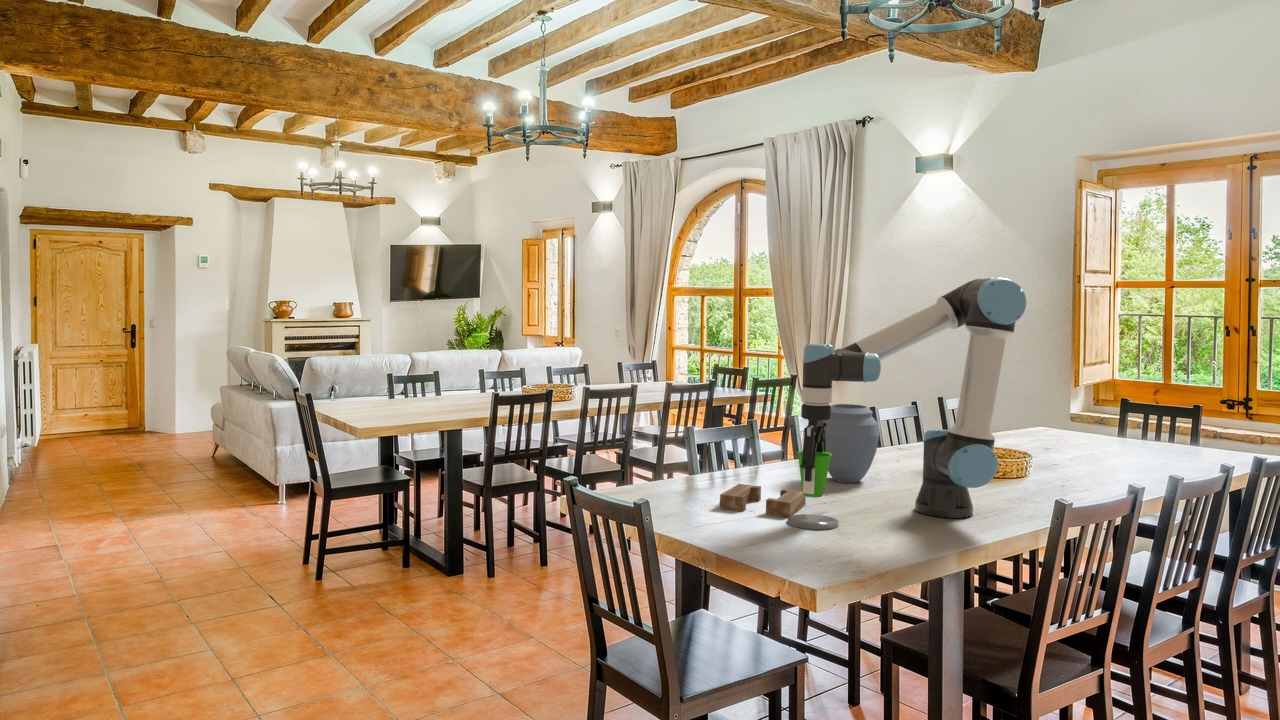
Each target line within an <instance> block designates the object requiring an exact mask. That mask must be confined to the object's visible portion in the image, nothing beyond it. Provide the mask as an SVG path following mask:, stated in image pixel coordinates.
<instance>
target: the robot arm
mask: <svg viewBox="0 0 1280 720" xmlns="http://www.w3.org/2000/svg"><path fill="white" fill-rule="evenodd" d="M1026 308H1027V297H1026V294H1025V291H1024V289H1023V288H1022V286H1020V285H1019V284H1018V282H1016V281H1014V280H1012V279H1009V278H1004V277H1001V276H1000V277H999V276H998V277H996V276H993V277H990V278H976V279H972V280H970V281H967V282H965V283H964V284H962V285H959V287H956V288H954V289H953V290H951V291H949V292H947V293H945V294H944V295H943V294H942V296H940V297H937V299H936V302H935V303H934V304H931V305H929V306H927V307H925V308H923V309H921V310H919V311H916V312H914V313H913V314H911V315H909V316H907V317H905V318H903V319H901V320H899V321H897V322H894V323H893V324H890V325H888V326H886V327H884V328H882V329H880V330H877V331H876V332H874V333H871V334H870V335H867V336H865V337H863V338H861V339H860V340H857V341H856V342H853V343H851V344H849V345H846V346H845V347H843V348H837V349H834V346H833V345H832V344H829V343H824V344H823V343H808V344H806V345H805V346H804V348H803V358H802V359H803V360H802V389H800V391H799V393H800V394H801V402H802V404H801V412H800V413H801V414H800V417H801V418H802V419H804V420H808V424H807V426H806V427H804V428H803V443H802V444H803V445H802V451H803V454H802V463H801V465H800V467H801V468H804V476H803V493H806V494H814V482H815V468H814V462H815V456H816V452H826V426H827V424H826V423H825V422H823V420H829V419H830V418H831V406H832V405H831V403H832V401H833V382H859V383H861V382H862V383H867V382H869V383H871V382H873V383H875V382H877V380H879V378H880V376H881V371H882V370H881V369H882V368H881V367H882V365H881V361H883V360H886V359H887V358H889V357H891V356H893V355H896V354H897V353H900V352H901V351H904V350H905V349H908V348H911V347H912V346H914V345H916V344H918V343H921V342H922V341H925V340H926V339H929V338H930V337H933V336H935V335H937V334H939V333H941V332H943V331H945V330H948V329H952V330H955V329H958V328H960V327H963V326H965V328H966V330H967V331H968V332H969V335H970V336H969V341H968V346H967V352H966V358H965V364H964V370H963V377H962V382H961V387H960V394H959V399H958V405H957V411H956V417H955V424H954V425H952V426H951V427H950V428H948V429H927V430H926V431H925V433H924V438H923V458H922V459H923V462H922V463H923V464H922V465H923V466H922V467H923V468H922V484H921V486H920V488H919V491H918V494H917V496H916V499H915V503H914V505H915V506H914V510H915V511H916V512H917V511H918V513H919V512H920V514H922V513H923V515H925V514H927V515H926V516H930V515H931V516H930V517H935V516H938V517H937V518H943V517H948V518H947V519H964V518H963V517H966V518H969V517H968V516H970V517H972V516H973V515H974V504H973V502H972V498H971V494H970V492H969V488H970V489H976V488H981V487H984V486H985V485H987V484H988V483H990V482H991V481H992V480H993V479H994V477H996V474H997V472H998V468H999V461H998V456H997V455H996V453H995V452H994V447H995V440H996V438H995V435H993V433H992V432H991V427H992V422H993V421H992V420H993V415H994V409H995V403H996V398H997V392H998V386H999V380H1000V375H1001V368H1002V362H1003V357H1004V353H1005V346H1006V341H1007V339H1008V338H1009V337H1011V336H1012V335H1013V334H1014V333H1015V332H1014V331H1015V327H1016V322H1017V321H1018V320H1019V319H1021V317H1022V316H1023V315H1024V313H1025V311H1026ZM808 462H809V463H808ZM800 467H799V468H800ZM971 515H972V516H971Z"/></svg>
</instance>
